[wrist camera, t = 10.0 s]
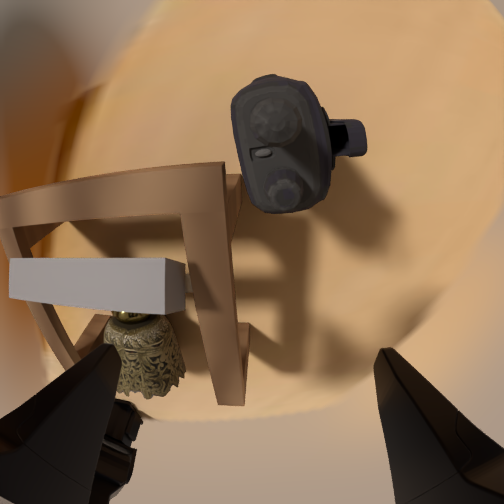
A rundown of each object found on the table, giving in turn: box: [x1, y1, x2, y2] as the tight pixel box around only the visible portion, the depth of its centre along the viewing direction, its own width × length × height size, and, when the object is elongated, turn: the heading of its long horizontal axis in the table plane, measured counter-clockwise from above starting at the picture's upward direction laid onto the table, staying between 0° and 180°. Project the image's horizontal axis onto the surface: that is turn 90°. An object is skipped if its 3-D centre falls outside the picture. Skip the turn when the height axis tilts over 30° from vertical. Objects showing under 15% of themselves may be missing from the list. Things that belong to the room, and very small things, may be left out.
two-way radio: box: [231, 74, 367, 214], centre depth 10 cm, size 6×4×15 cm
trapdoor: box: [9, 258, 193, 315], centre depth 17 cm, size 11×11×2 cm
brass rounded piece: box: [104, 311, 186, 399], centre depth 22 cm, size 8×7×8 cm
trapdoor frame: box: [0, 162, 250, 406], centre depth 19 cm, size 16×17×8 cm
